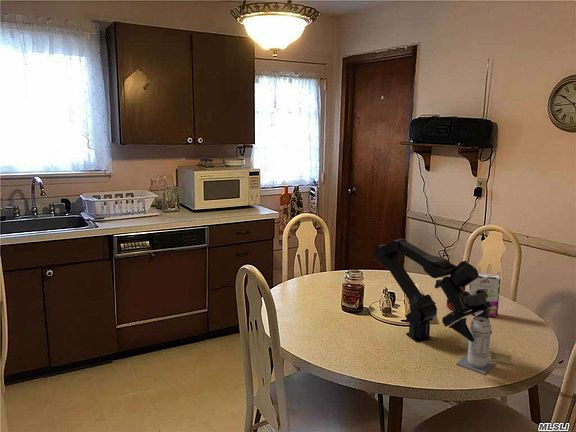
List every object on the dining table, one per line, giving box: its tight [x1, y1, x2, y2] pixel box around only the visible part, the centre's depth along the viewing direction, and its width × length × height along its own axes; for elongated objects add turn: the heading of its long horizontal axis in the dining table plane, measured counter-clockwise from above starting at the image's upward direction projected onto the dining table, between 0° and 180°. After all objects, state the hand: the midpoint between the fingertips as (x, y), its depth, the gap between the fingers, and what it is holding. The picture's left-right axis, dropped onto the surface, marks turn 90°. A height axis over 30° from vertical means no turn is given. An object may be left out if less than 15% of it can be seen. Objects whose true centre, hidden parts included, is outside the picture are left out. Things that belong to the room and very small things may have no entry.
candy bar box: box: [468, 272, 502, 318], centre depth 191 cm, size 11×5×16 cm, turn 68°
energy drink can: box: [467, 316, 492, 368], centre depth 150 cm, size 6×6×15 cm
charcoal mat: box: [455, 353, 496, 376], centre depth 152 cm, size 9×9×1 cm
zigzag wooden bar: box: [460, 339, 512, 366], centre depth 158 cm, size 16×4×3 cm, turn 48°
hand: (482, 337), depth 149 cm, fingers open, 9 cm apart
